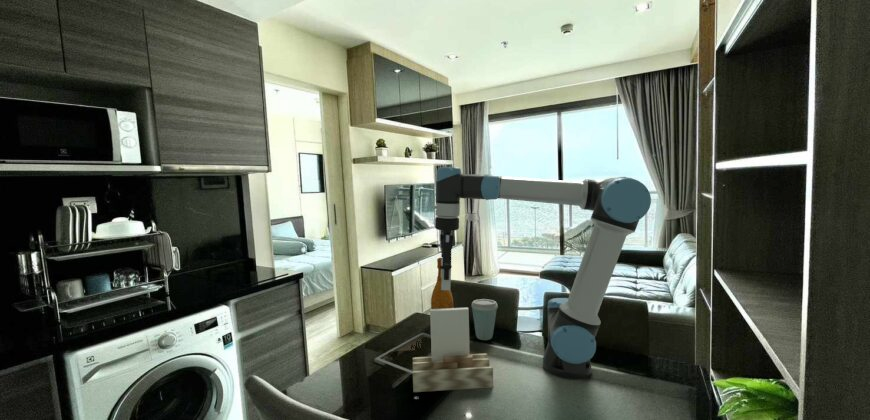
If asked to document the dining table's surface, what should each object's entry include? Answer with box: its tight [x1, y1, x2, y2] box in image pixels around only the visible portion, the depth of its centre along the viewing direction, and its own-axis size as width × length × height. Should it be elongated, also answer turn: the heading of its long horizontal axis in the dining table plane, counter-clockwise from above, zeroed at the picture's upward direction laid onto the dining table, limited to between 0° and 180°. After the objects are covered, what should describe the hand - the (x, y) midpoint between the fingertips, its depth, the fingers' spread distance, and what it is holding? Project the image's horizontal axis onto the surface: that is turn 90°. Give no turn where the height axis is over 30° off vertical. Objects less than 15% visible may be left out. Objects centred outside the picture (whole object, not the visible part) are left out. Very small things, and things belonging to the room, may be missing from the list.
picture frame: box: [373, 332, 431, 375], centre depth 134 cm, size 19×2×30 cm
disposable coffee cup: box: [471, 298, 499, 341], centre depth 145 cm, size 11×11×15 cm
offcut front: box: [434, 362, 458, 370], centre depth 109 cm, size 7×2×7 cm, turn 93°
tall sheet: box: [429, 307, 471, 361], centre depth 113 cm, size 12×2×22 cm, turn 93°
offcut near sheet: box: [443, 355, 473, 368], centre depth 111 cm, size 9×2×8 cm, turn 93°
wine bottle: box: [430, 257, 454, 309], centre depth 158 cm, size 10×10×30 cm
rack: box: [412, 353, 494, 393], centre depth 111 cm, size 24×9×7 cm, turn 93°
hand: (445, 283), depth 114 cm, fingers open, 13 cm apart
